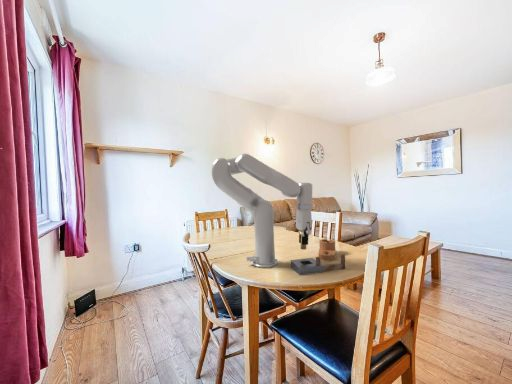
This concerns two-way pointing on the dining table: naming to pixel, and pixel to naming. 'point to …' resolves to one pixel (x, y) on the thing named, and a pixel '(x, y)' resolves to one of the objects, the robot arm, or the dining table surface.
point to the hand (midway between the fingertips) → (303, 243)
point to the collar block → (306, 266)
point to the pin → (301, 241)
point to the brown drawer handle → (332, 266)
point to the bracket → (327, 250)
